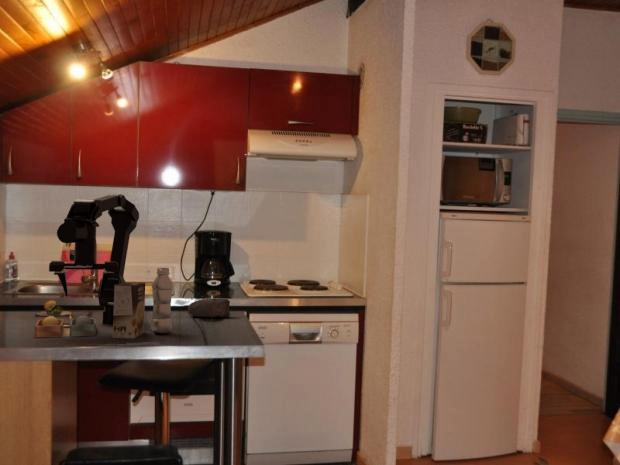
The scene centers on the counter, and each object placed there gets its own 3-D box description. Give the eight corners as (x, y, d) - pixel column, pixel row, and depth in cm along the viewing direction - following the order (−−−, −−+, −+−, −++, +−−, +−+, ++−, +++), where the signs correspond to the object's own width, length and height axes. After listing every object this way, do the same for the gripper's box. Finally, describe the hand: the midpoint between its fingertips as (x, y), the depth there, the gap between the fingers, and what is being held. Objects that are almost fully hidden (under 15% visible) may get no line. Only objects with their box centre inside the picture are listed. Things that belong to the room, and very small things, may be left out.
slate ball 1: (90, 328, 178) (91, 314, 178) (90, 331, 174) (91, 316, 174) (75, 329, 176) (75, 314, 176) (74, 331, 172) (75, 316, 172)
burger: (69, 320, 197) (69, 298, 197) (31, 320, 194) (32, 298, 194) (74, 315, 209) (75, 294, 209) (39, 315, 206) (39, 294, 206)
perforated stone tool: (186, 318, 210) (187, 298, 209) (188, 315, 215) (189, 296, 215) (228, 319, 210) (229, 300, 210) (229, 317, 215) (230, 298, 215)
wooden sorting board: (94, 326, 187) (95, 314, 187) (95, 338, 168) (96, 324, 168) (39, 328, 181) (40, 315, 181) (34, 340, 162) (34, 326, 162)
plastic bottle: (153, 335, 175) (155, 269, 175) (148, 331, 181) (150, 267, 181) (174, 334, 178) (176, 269, 178) (168, 330, 184) (170, 267, 184)
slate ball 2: (90, 332, 173) (91, 317, 173) (90, 334, 169) (91, 319, 169) (74, 332, 171) (75, 317, 171) (74, 335, 167) (75, 319, 167)
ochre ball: (58, 329, 175) (59, 314, 174) (57, 332, 170) (58, 317, 170) (42, 330, 173) (42, 315, 173) (41, 332, 169) (41, 317, 169)
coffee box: (134, 342, 166) (135, 285, 165) (111, 341, 166) (113, 284, 166) (144, 335, 175) (146, 282, 175) (123, 335, 175) (124, 281, 175)
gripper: (117, 242, 181) (116, 292, 181) (51, 240, 174) (50, 293, 174) (119, 243, 170) (117, 297, 170) (49, 242, 164) (48, 297, 164)
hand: (83, 296), depth 170 cm, fingers open, 9 cm apart
